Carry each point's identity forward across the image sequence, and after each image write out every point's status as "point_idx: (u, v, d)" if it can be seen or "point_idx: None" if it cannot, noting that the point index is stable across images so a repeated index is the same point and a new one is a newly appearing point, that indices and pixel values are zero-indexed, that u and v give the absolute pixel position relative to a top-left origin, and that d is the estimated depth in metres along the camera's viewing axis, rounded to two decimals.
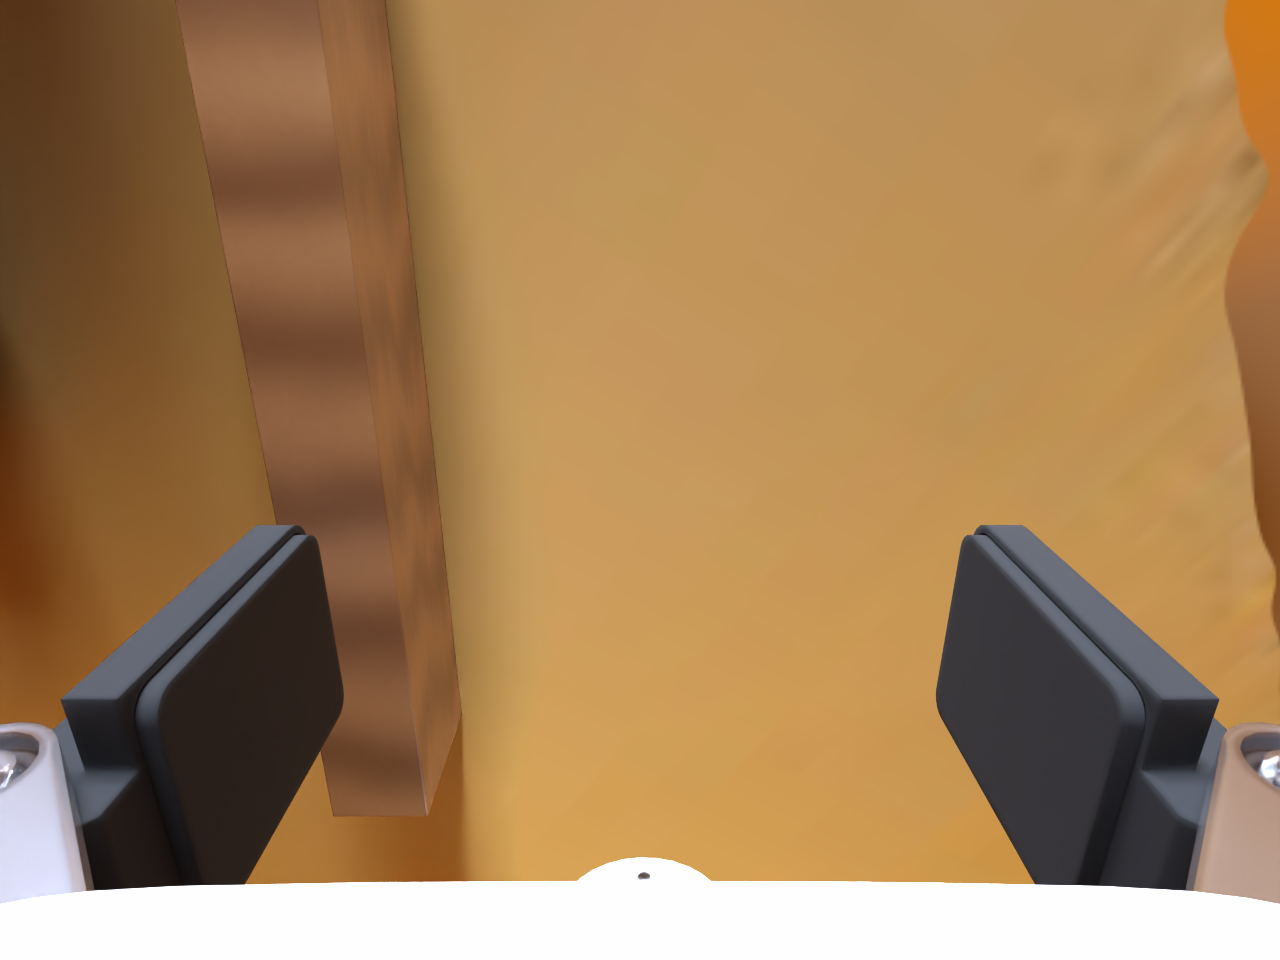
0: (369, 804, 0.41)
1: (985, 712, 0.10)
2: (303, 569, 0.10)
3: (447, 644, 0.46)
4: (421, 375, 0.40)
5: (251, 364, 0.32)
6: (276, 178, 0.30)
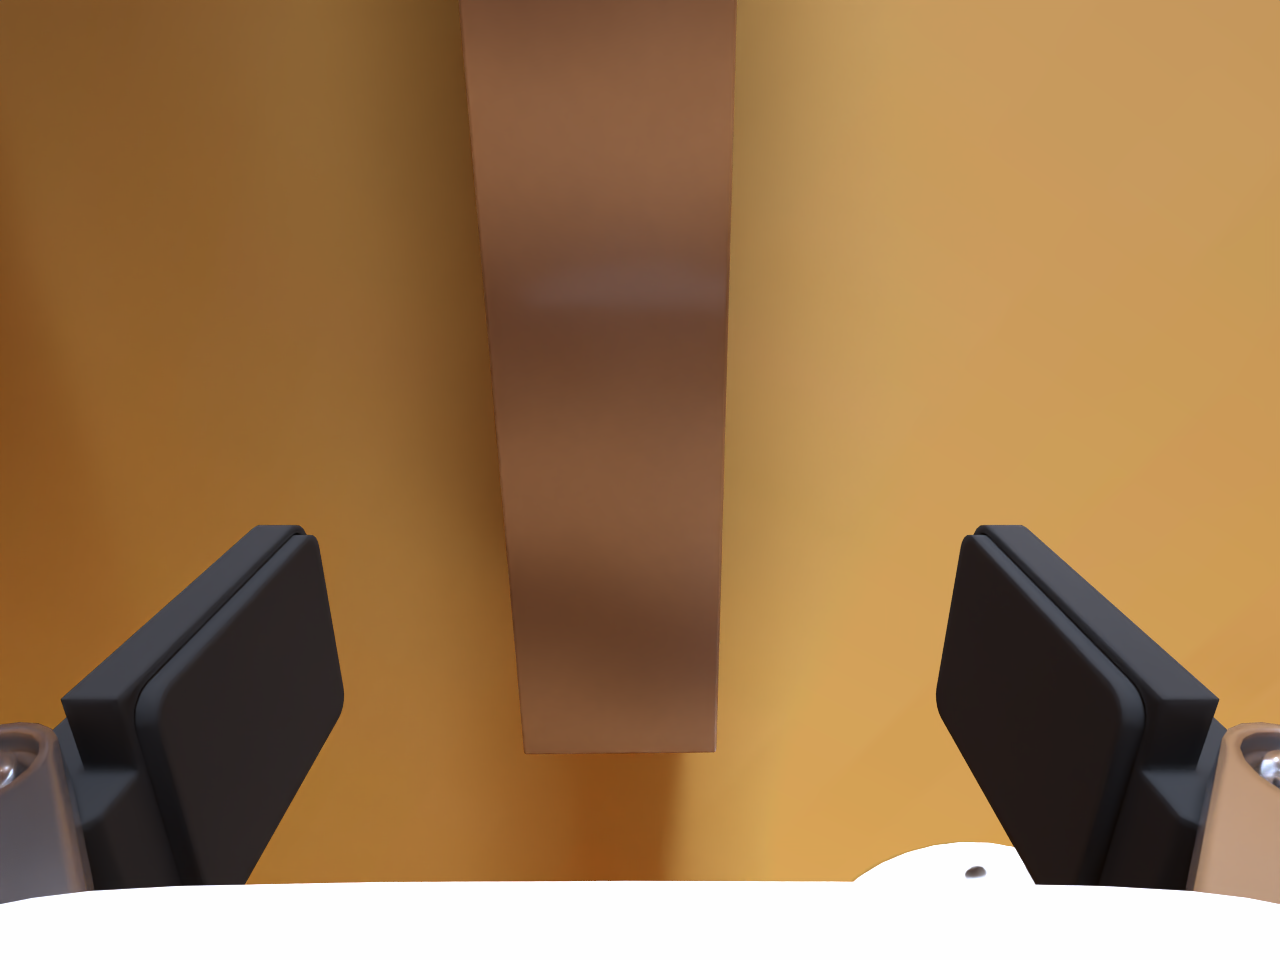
0: (600, 728, 0.20)
1: (985, 712, 0.10)
2: (302, 569, 0.10)
3: None
4: None
5: None
6: None
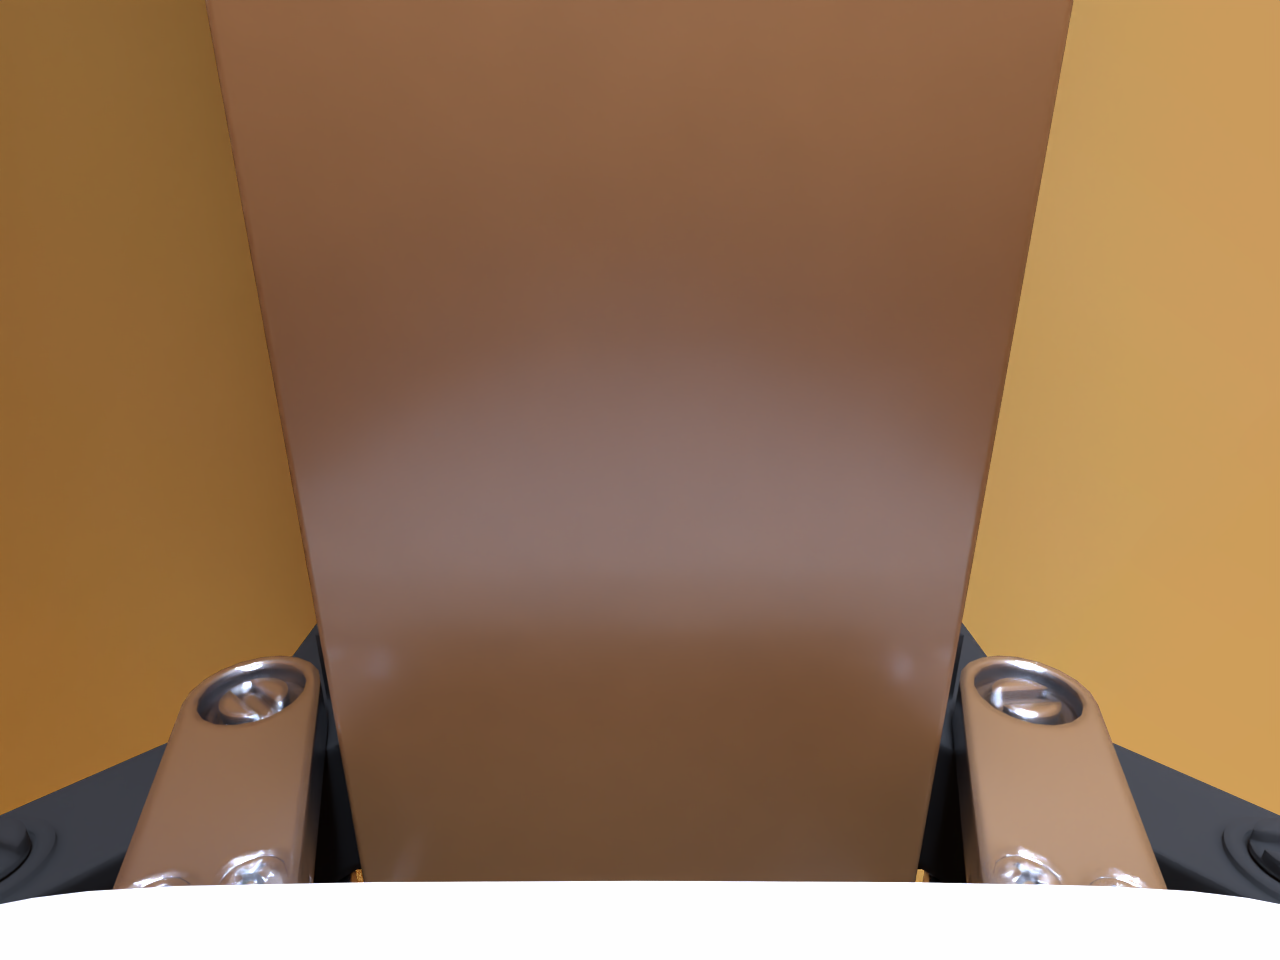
0: None
1: None
2: None
3: None
4: None
5: None
6: None
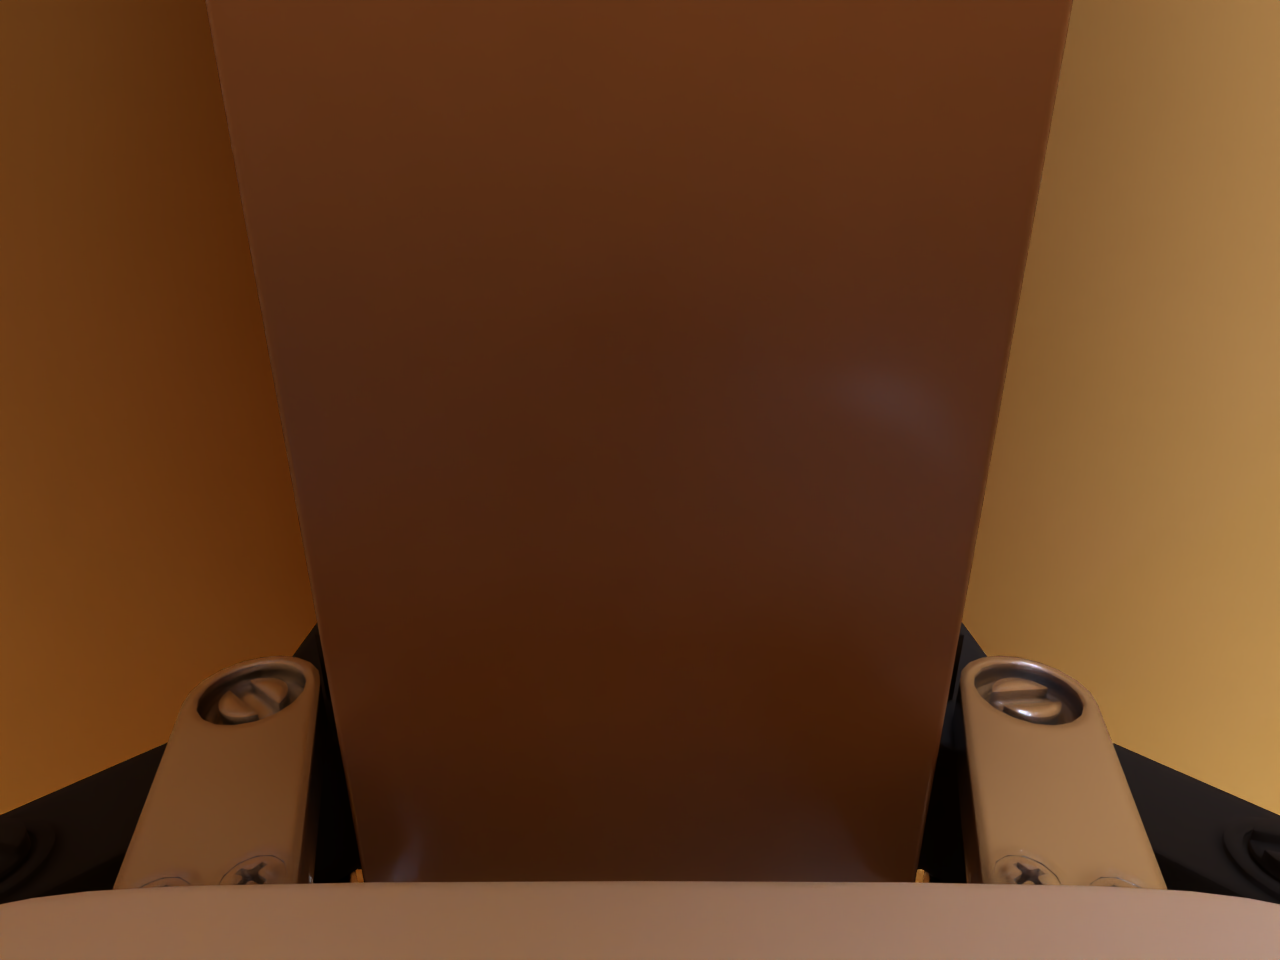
0: None
1: None
2: None
3: None
4: None
5: None
6: None
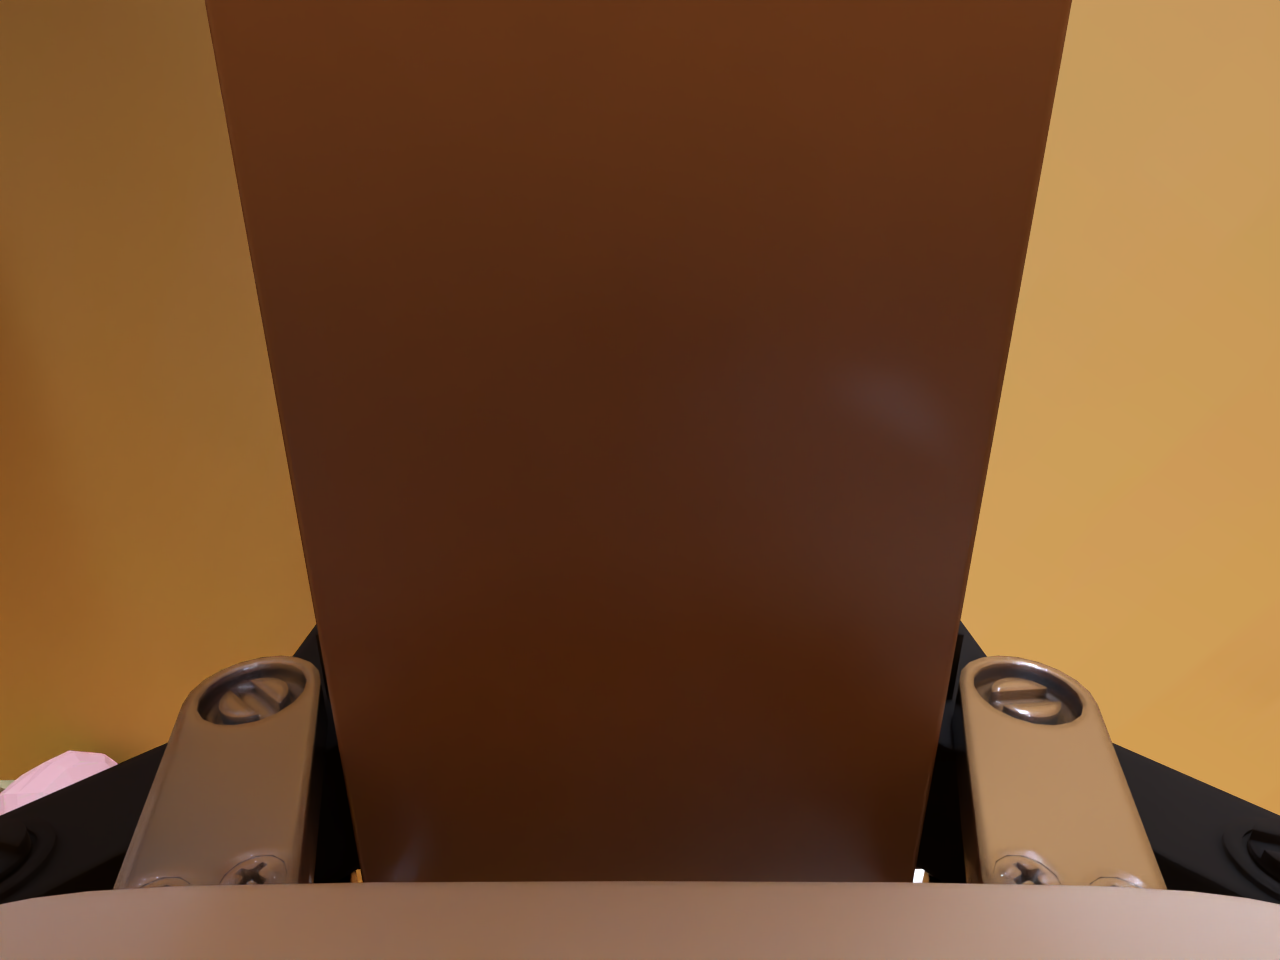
0: None
1: None
2: None
3: None
4: None
5: None
6: None
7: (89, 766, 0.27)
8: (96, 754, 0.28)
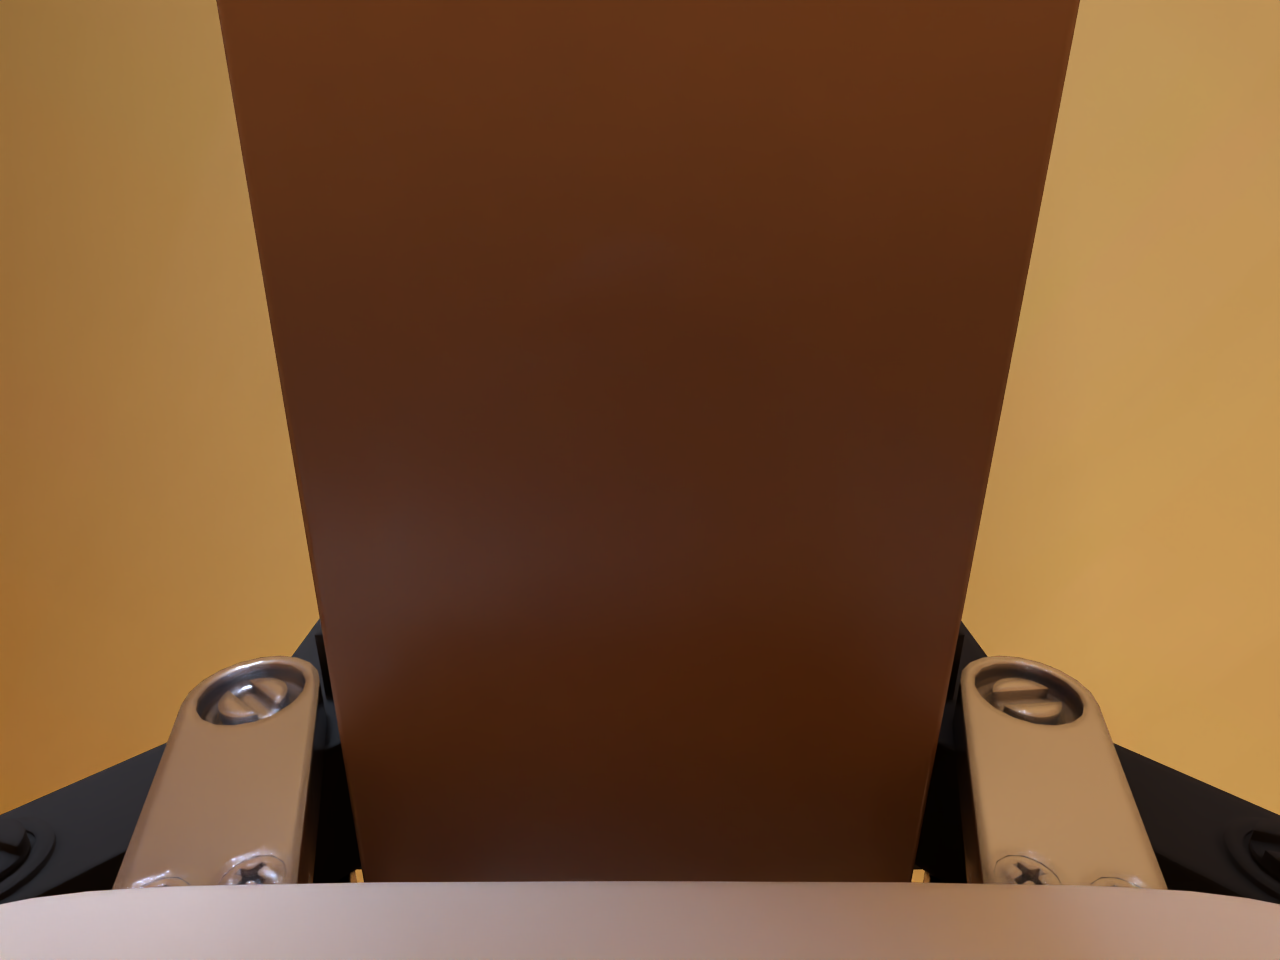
0: None
1: None
2: None
3: None
4: None
5: None
6: None
7: None
8: None
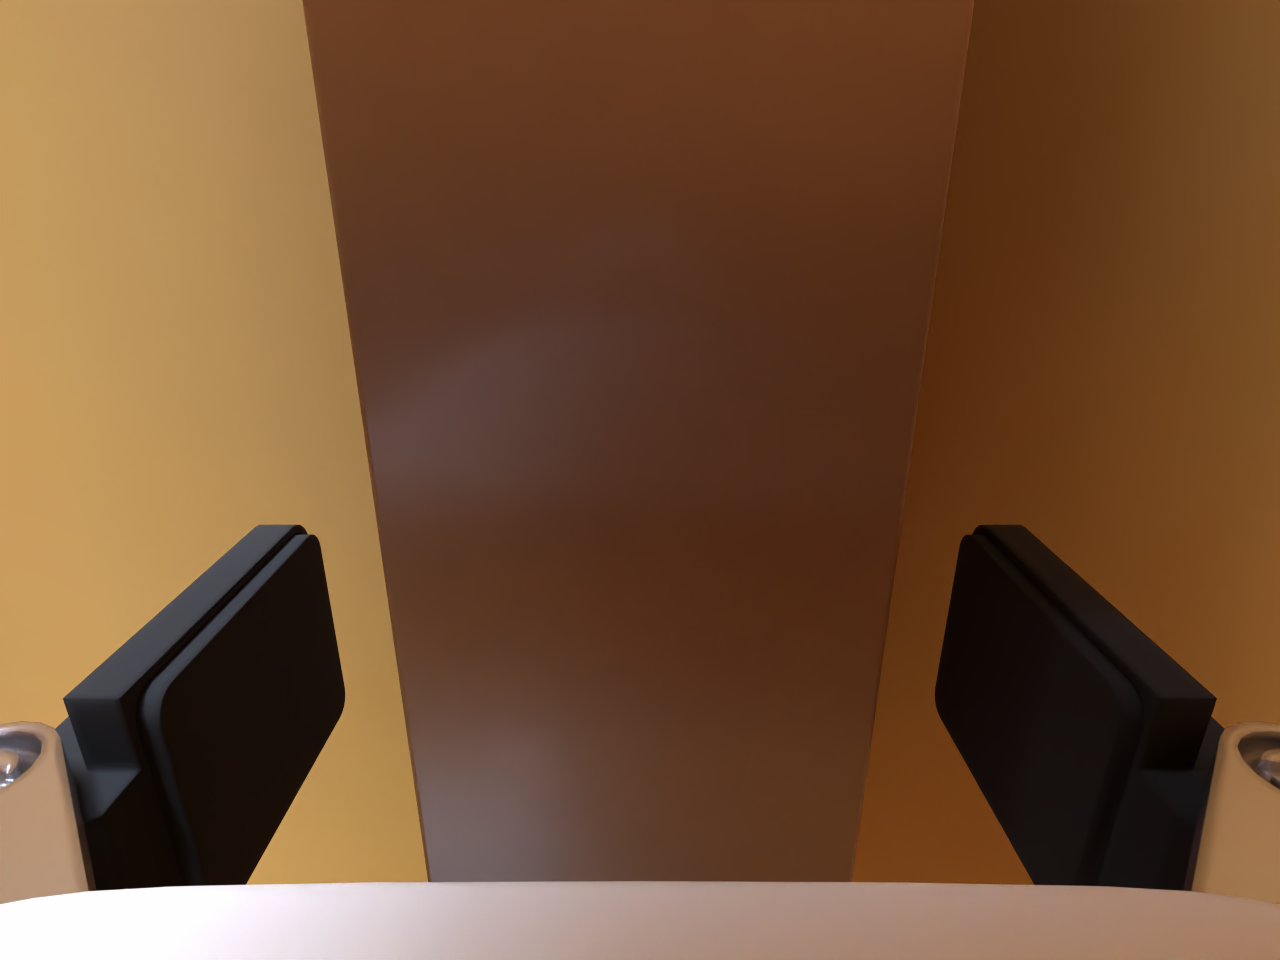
0: None
1: (983, 712, 0.10)
2: (304, 569, 0.10)
3: None
4: None
5: None
6: None
7: None
8: None
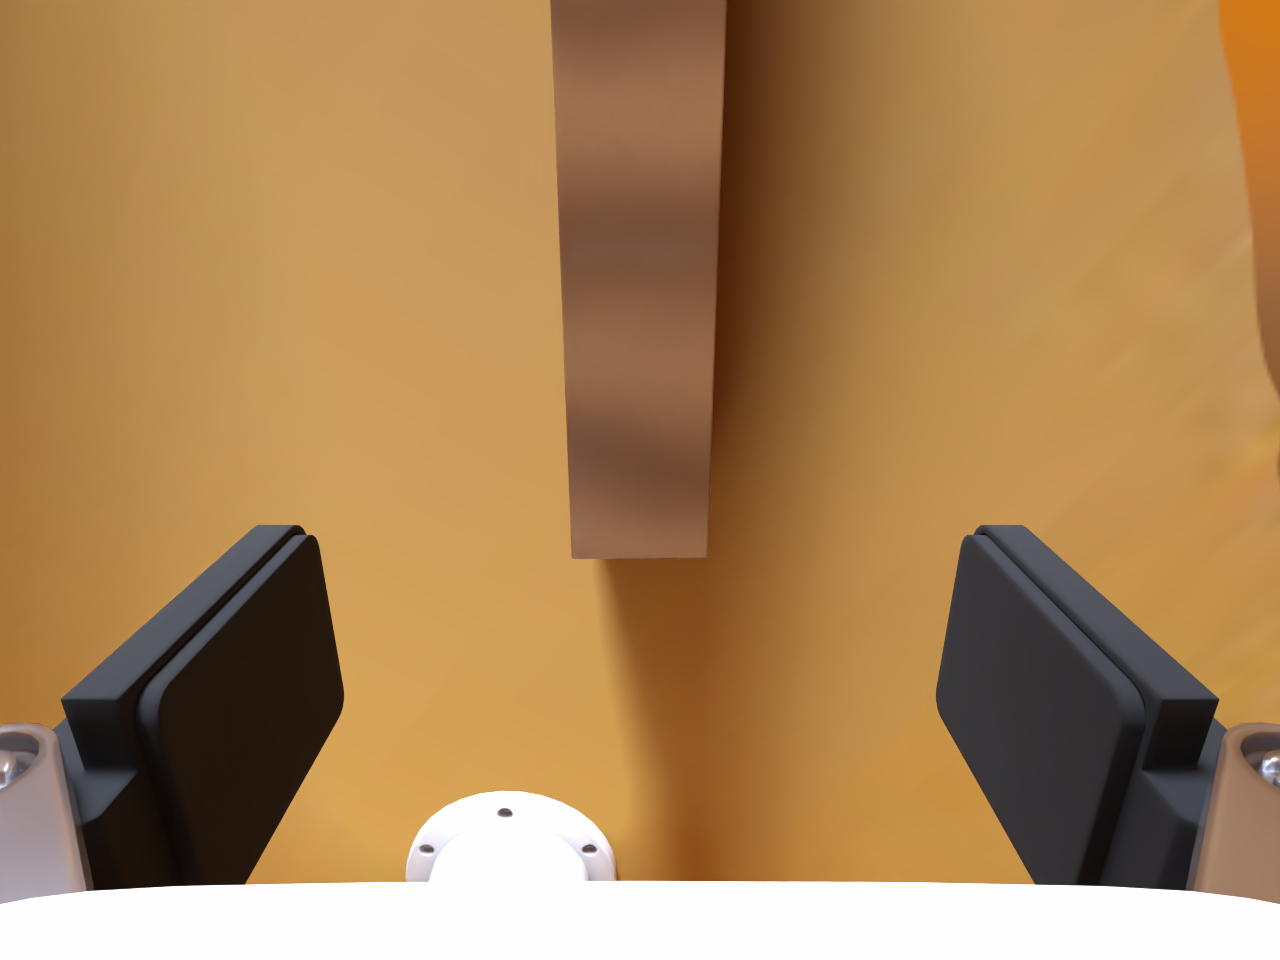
0: (626, 538, 0.29)
1: (985, 712, 0.10)
2: (302, 569, 0.10)
3: None
4: None
5: None
6: None
7: None
8: None
